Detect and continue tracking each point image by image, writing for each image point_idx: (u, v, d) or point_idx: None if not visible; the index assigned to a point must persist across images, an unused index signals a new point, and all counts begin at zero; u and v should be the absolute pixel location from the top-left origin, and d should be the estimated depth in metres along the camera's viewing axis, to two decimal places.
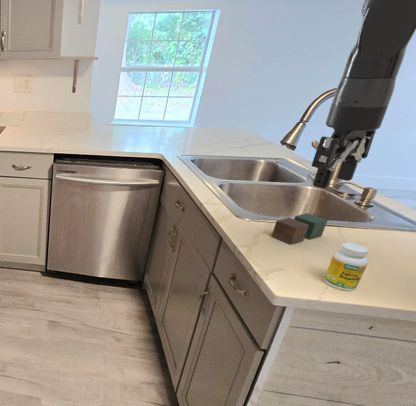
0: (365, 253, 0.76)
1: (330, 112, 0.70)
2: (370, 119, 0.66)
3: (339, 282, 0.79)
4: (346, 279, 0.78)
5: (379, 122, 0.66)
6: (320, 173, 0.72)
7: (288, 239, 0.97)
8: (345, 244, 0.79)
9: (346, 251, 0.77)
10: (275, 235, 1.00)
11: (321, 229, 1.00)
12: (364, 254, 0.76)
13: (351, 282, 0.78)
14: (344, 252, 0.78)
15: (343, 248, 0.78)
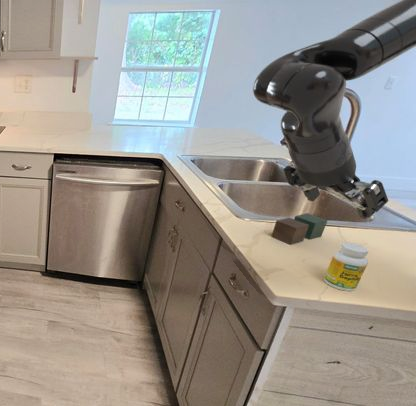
0: (365, 253, 0.76)
1: (327, 177, 0.61)
2: None
3: (339, 282, 0.79)
4: (346, 279, 0.78)
5: None
6: (369, 208, 0.64)
7: (288, 239, 0.97)
8: (345, 244, 0.79)
9: (346, 251, 0.77)
10: (275, 235, 1.00)
11: (321, 229, 1.00)
12: (364, 254, 0.76)
13: (351, 282, 0.78)
14: (344, 252, 0.78)
15: (343, 248, 0.78)
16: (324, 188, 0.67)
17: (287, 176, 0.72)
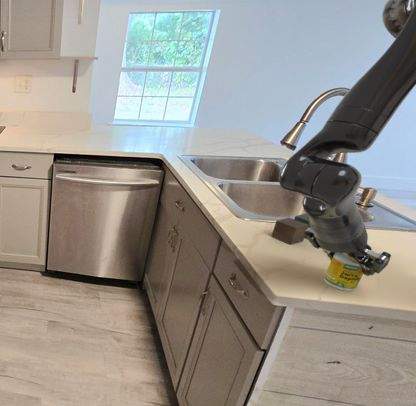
0: None
1: (343, 247, 0.71)
2: None
3: (339, 282, 0.79)
4: (346, 279, 0.78)
5: None
6: (372, 268, 0.75)
7: (288, 239, 0.97)
8: None
9: None
10: (275, 235, 1.00)
11: None
12: None
13: (351, 282, 0.78)
14: None
15: None
16: None
17: (309, 240, 0.82)
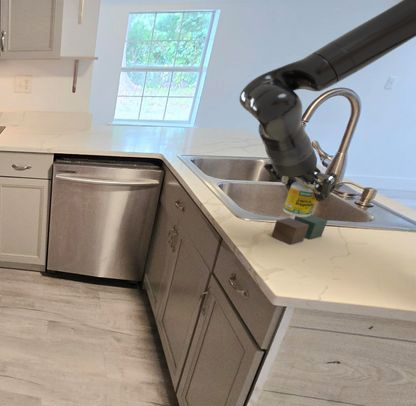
0: None
1: (295, 169, 0.79)
2: None
3: (295, 209, 0.87)
4: (301, 205, 0.86)
5: None
6: (323, 193, 0.83)
7: (288, 239, 0.97)
8: None
9: None
10: (275, 235, 1.00)
11: (321, 229, 1.00)
12: None
13: (306, 208, 0.86)
14: (299, 181, 0.86)
15: None
16: (294, 178, 0.85)
17: (269, 172, 0.90)
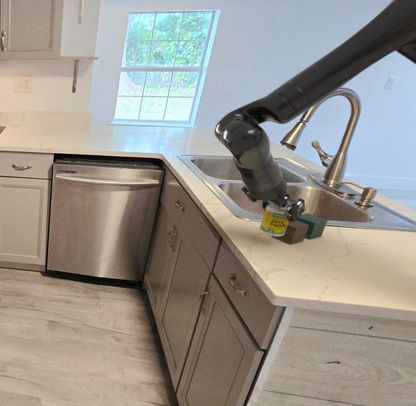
0: None
1: (266, 194, 0.86)
2: (283, 177, 0.86)
3: (270, 229, 0.94)
4: (275, 226, 0.93)
5: None
6: None
7: (288, 239, 0.97)
8: None
9: None
10: None
11: (321, 229, 1.00)
12: None
13: (279, 229, 0.93)
14: None
15: None
16: (268, 201, 0.92)
17: (246, 194, 0.97)
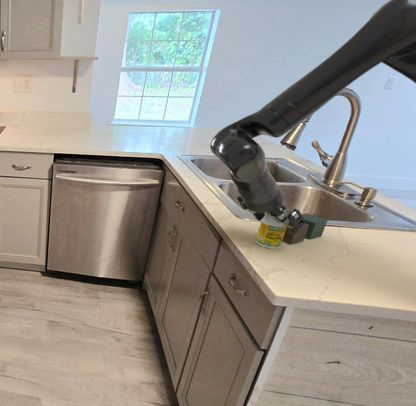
0: None
1: (262, 207, 0.87)
2: None
3: (265, 242, 0.96)
4: (271, 238, 0.95)
5: None
6: None
7: (288, 239, 0.97)
8: None
9: None
10: None
11: (321, 229, 1.00)
12: None
13: (275, 241, 0.95)
14: None
15: None
16: (264, 212, 0.93)
17: (240, 203, 0.98)
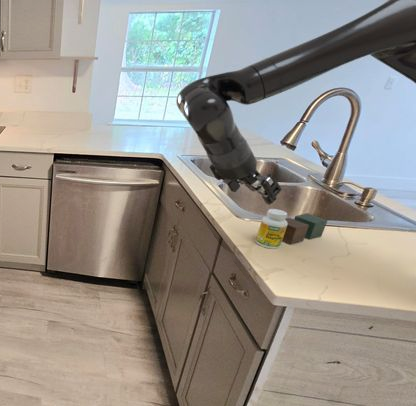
0: (284, 216, 0.92)
1: (234, 172, 0.79)
2: None
3: (265, 242, 0.96)
4: (271, 238, 0.95)
5: None
6: None
7: (288, 239, 0.97)
8: (270, 210, 0.95)
9: (270, 215, 0.94)
10: None
11: (321, 229, 1.00)
12: (283, 217, 0.93)
13: (275, 241, 0.95)
14: (269, 216, 0.95)
15: (268, 213, 0.95)
16: None
17: (213, 172, 0.90)
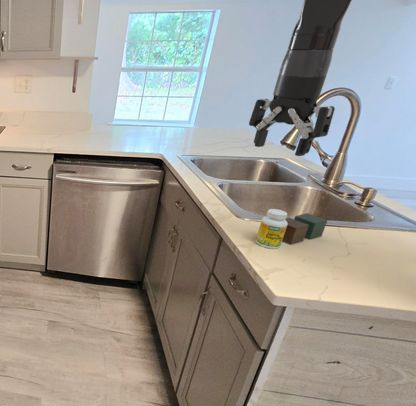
0: (284, 216, 0.92)
1: (303, 85, 0.72)
2: None
3: (265, 242, 0.96)
4: (271, 238, 0.95)
5: None
6: None
7: (288, 239, 0.97)
8: (270, 210, 0.95)
9: (270, 215, 0.94)
10: None
11: (321, 229, 1.00)
12: (283, 217, 0.93)
13: (275, 241, 0.95)
14: (269, 216, 0.95)
15: (268, 213, 0.95)
16: (282, 118, 0.78)
17: (254, 111, 0.83)
